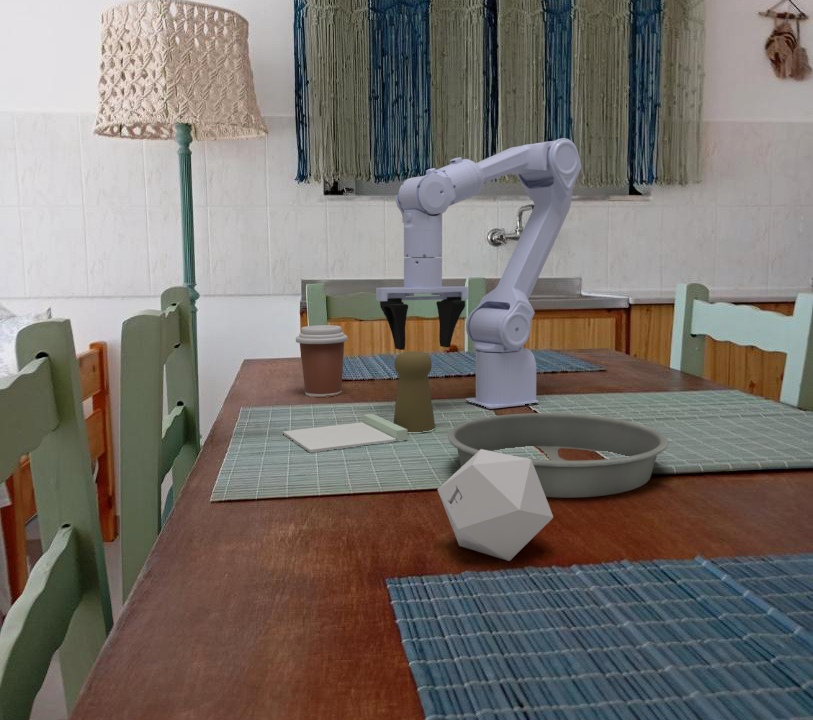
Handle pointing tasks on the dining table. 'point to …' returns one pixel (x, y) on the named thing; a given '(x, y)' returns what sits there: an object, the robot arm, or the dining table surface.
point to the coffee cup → (322, 359)
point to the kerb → (386, 426)
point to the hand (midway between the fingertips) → (422, 348)
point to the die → (495, 503)
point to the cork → (413, 392)
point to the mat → (337, 437)
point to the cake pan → (569, 434)
